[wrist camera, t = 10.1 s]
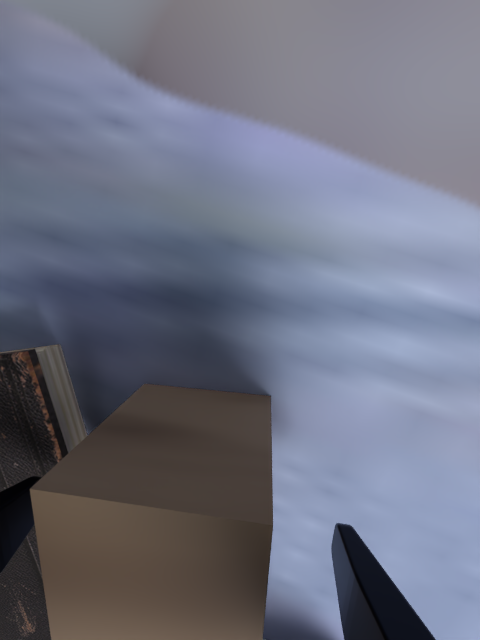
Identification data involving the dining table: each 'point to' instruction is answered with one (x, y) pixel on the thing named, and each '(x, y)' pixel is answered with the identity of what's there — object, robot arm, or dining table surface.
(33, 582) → the hardcover book
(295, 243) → the dining table surface
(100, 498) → the walnut cube
